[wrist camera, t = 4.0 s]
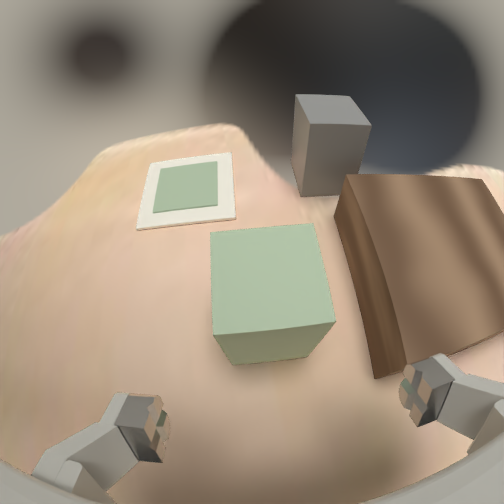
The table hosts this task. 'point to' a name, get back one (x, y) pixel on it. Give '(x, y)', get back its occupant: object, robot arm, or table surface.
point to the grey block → (327, 143)
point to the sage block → (269, 293)
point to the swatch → (188, 192)
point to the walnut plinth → (422, 264)
